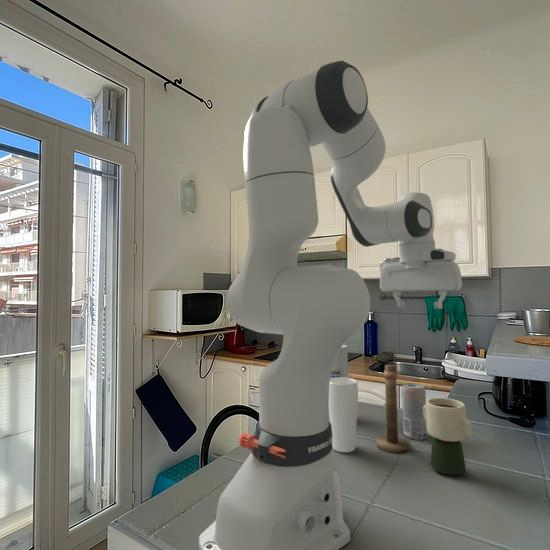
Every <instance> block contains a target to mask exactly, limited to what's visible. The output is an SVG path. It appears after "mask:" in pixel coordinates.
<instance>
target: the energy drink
mask: <svg viewBox="0 0 550 550" xmlns="http://www.w3.org/2000/svg"><path fill="white" fill-rule="evenodd" d="M426 390H427V389H426V388H425V385H424V384H421V383H414V382H410V383H409V382H407V383H403V384H402V388H401V394H402V395H401V398H402V400H401V401H402V430H403V433H402V434H403V435H404V436H405V437H406V438H408V439H410V440H413V441H414V440H415V441H423V440H425V439H426V438H427V437H428V431H427V421H426V420H425V419H424V414H423V407H424V405H426V401H427V397H426V396H427V395H426Z"/></svg>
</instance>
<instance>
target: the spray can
mask: <svg viewBox="0 0 550 550" xmlns="http://www.w3.org/2000/svg"><path fill="white" fill-rule="evenodd" d="M348 350H349V347H348V345H347V344H346V345H345V344H343V346H342V347H341V349H340V350H339V352H338V354H337V356H336V358H335V360H334V363H333V366H332V370H331V374H330V379H331V378H336V377H345V378H349V365H348V364H349V363H348V362H349V361H348V360H349V359H348V358H349V357H348V356H349V355H348V353H349V352H348ZM329 421H330V417H329Z"/></svg>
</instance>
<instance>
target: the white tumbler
mask: <svg viewBox="0 0 550 550" xmlns="http://www.w3.org/2000/svg"><path fill="white" fill-rule="evenodd" d="M358 405H359V387H358V380H357V379H355V378H352V377H348V378H345V377H336V378H331V379H330V382H329V417H330V420H329V422H330V423H331V426H332V432H333V439H332V450H334V451H336V452H339V453H345V454H346V453H347V454H348V453H351V452H354V451H355V450H356V448H357V441H356V439H357V421H358V408H359V407H358Z"/></svg>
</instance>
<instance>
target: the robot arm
mask: <svg viewBox="0 0 550 550" xmlns="http://www.w3.org/2000/svg"><path fill="white" fill-rule="evenodd" d="M368 97H369V95H368V91H367V87H366V84H365V81H364V78H363V76H362V74H361V73H360V71H359V70H358V68H356V67H355V66H354V65H352V64H351V63H349V62H347V61H344V60H337V61H333V62H329V63H326V64H323V65H321V66H320V68H319V69H316V70H314V71H311V72H310V73H307V74H305V75H303V76H301V77H298V78H297V79H292V80H291V81H289V82H287V83H285V84H284V85H283V86H281V87H279V88H278V89H276V90H275V91H274V92H272V93H271V95H269V96H265V97H264V98H262V99H261V100H260V101H259V102H258V103H257V104H256V105H255V107H254V108H253V109H252V111H251V114H250V117H249V119H248V121H247V123H246V126H245V130H244V140H243V141H244V142H243V171H244V184H245V194H246V205H247V217H248V240H247V241H248V242H247V248H246V254H245V257H244V261H243V264H242V266H241V269H240V272H239V274H238V276H236V278H235V280H233V281H232V283H231V285H230V286H229V288H228V292H227V296H226V306H227V311H228V314H229V315H230V318H231V319H232V320H233V322H234V323H235V324H237V325H239V326H241V327H243V328H246V329H248V330H252V331H253V332H256V333H260V334H261V333H262V334H272V335H282V336H283V341H282V347H281V349H280V350H281V351H280V353H279V355H278V357H277V359H274V360H273V361H272V362H270V363H268V364H267V365H266V366H265V367H264V368H263V369H262V370H261V373H260V374H259V378H258V405H259V407H258V410H259V411H258V412H259V413H258V414H259V415H258V417H259V419H258V422H257V424H256V427H255V430H254V435H253V434H252V435H251V434H250V433H248V432H243V433H241V434H240V437H239V438H238V445H239V446H240V447H241V448H245V449H247V450H249V451H250V454H249V455H248V457H247V458H246V459H245V460H244V462H243V464H242V465H241V466H240V468H239V469H238V471H237V472H236V474H235V475H234V476H233V477H232V479H231V481H230V482H229V483H228V485H227V486H226V488H225V489H224V490H223V492H222V493H221V494H220V497H219V500H218V503H217V508H216V517H215V520H214V521H213V522H212V523H211V524H210V525H209V526H208V527H206V529H205V530H204V531H202V532H201V534H200V535H199V537H198V550H340V549H341V548H342V547H344V546H346V545H347V544H348V543H350V541H351V531H350V529H349V526H348V525H347V524H346V522H345V521H344V514H343V505H342V495H341V487H340V484H341V483H340V477H339V474H338V471H337V469H336V466H335V464H334V461H333V458H332V454H331V451H332V450H333V447H332V439H333V432H332V426H331V423H330V420H329V382H330V374H331V370H332V366H333V363H334V360H335V358H336V356H337V354H338V352H339V350H340V349H341V347H342V346H343V345H345V344H346V342H347V341H348V340H349V339H350V338H351V337H353V336H355V334H357V333H358V332H359V331H360V330H361V329H362V328H363V327H364V325H365V323H366V322H367V319H368V317H369V315H370V309H371V296H370V292H369V289H368V285H367V284H366V282H365V280H364V279H363V277H362V276H361V275H360V273H358V272H357V271H356V270H354V269H351V268H346V267H345V268H344V267H340V266H333V265H328V264H323V265H322V264H321V265H309V266H306V265H305V266H298V264H297V263H298V257H299V253H300V249H302V248H301V247H302V245H303V244H304V243H305V242H306V241H307V240H308V239H309V238H310V237H312V235H313V234H314V233H315V232H316V230H317V228H318V224H319V211H318V200H317V191H316V182H315V181H316V180H315V171H314V170H315V169H314V164H313V163H314V162H313V158H312V154H311V153H312V152H311V148H310V147H315V146H318V145H322V147H323V149H324V151H325V153H327V155H328V157H329V158H330V160H331V162H332V167H331V170H330V183H331V185H332V189H333V190H334V193H335V195H336V197H337V199H338V202H339V203H340V206H341V208H342V210H343V212H344V214H345V217H346V218H347V221H348V223H349V227H350V229H351V233H352V236H353V238H354V240H356V242H357V243H358V244H360V246H361V245H362V247H364V248H365V247H366V248H368V247H373V246H378V245H381V244H388V243H389V244H390V243H397V242H399V244H398V246H399V247H398V249H399V250H398V251H399V257H392V258H391V257H390V258H389V257H386V258H385V259H383V260H382V261H381V262H380V264H379V272H380V275H379V276H380V277H379V289H380V290H381V291H382V292H392V296H393V298H394V299H395V301H396V302H397V309H405V308H406V301H403V300H402V299H401V295H402V293H401V292H422V291H423V292H424V291H425V292H429V291H433V292H434V291H435V292H436V291H437V292H438V293H437V294H438V296H440V297H439V298H438V301H434V302H433V306H434V307H433V308H434V309H437V310H440V309H441V310H442V309H443V302H444V301H445V300H446V299H445V298H446V296H447V295H448V294H447V291H459V290H461V288H462V287H463V280H462V279H463V278H462V273H461V269H460V266H459V264H458V263H457V262H456V261H455V260H456V258H457V257H456V253H455V252H452V251H449V250H445V249H442V248H436V242H435V239H434V231H435V230H434V229H435V218H434V217H435V216H434V210H433V204H432V200H431V198H430V196H429V195H428V194H427V193H424V192H409V193H405V194H404V195H402V196H401V197H400V200H399V201H397V202H392V203H388V204H384V205H379V206H368V205H366V204H365V202H364V199H363V197H362V195H361V193H360V190H359V188H358V186H359V185H361V184H362V183H363V182H365V181H367V180H368V179H369V178H370V177H372V175H374V174H375V173H376V171H377V170H378V169H379V167H380V166H381V164H382V162H383V161H384V159H385V155H386V147H387V146H386V142H385V138H384V135H383V133H382V131H381V128H380V127H379V125H378V122H377V121H376V119H375V118H374V116H373V114H372V113H371V111H370V110H369V108H368V107H369V106H368V104H369V99H368Z"/></svg>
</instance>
